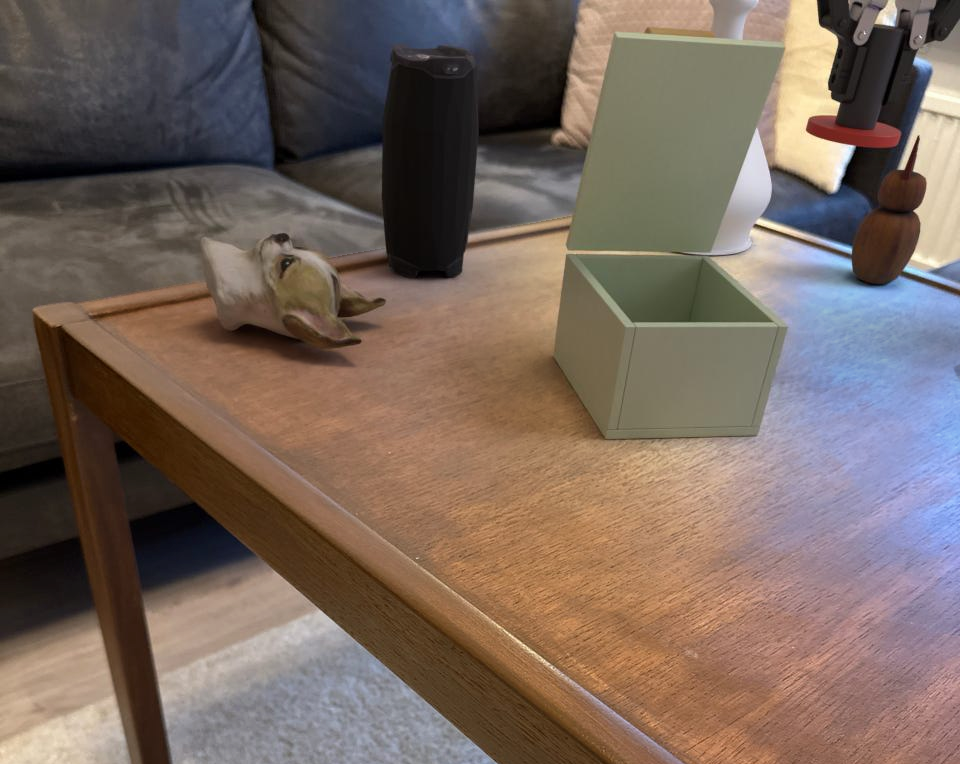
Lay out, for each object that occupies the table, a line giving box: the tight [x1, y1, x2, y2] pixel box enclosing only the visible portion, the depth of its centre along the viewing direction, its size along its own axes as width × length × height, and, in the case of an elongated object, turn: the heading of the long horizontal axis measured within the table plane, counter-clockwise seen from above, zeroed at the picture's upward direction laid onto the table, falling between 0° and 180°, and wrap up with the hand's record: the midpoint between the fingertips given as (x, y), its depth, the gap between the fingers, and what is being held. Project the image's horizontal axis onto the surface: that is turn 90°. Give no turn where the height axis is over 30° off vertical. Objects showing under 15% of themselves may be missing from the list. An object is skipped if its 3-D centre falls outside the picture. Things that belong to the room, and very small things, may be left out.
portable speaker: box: [381, 43, 480, 279], centre depth 95 cm, size 9×9×20 cm
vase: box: [680, 0, 773, 256], centre depth 110 cm, size 17×17×25 cm
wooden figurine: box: [851, 134, 928, 285], centre depth 105 cm, size 7×6×15 cm
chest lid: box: [565, 26, 786, 253], centre depth 76 cm, size 16×13×5 cm
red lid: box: [805, 23, 904, 149], centre depth 74 cm, size 7×7×7 cm
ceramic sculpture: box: [200, 232, 387, 350], centre depth 83 cm, size 11×9×15 cm
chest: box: [552, 253, 789, 440], centre depth 79 cm, size 16×13×9 cm
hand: (862, 101), depth 74 cm, fingers closed on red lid, 3 cm apart
